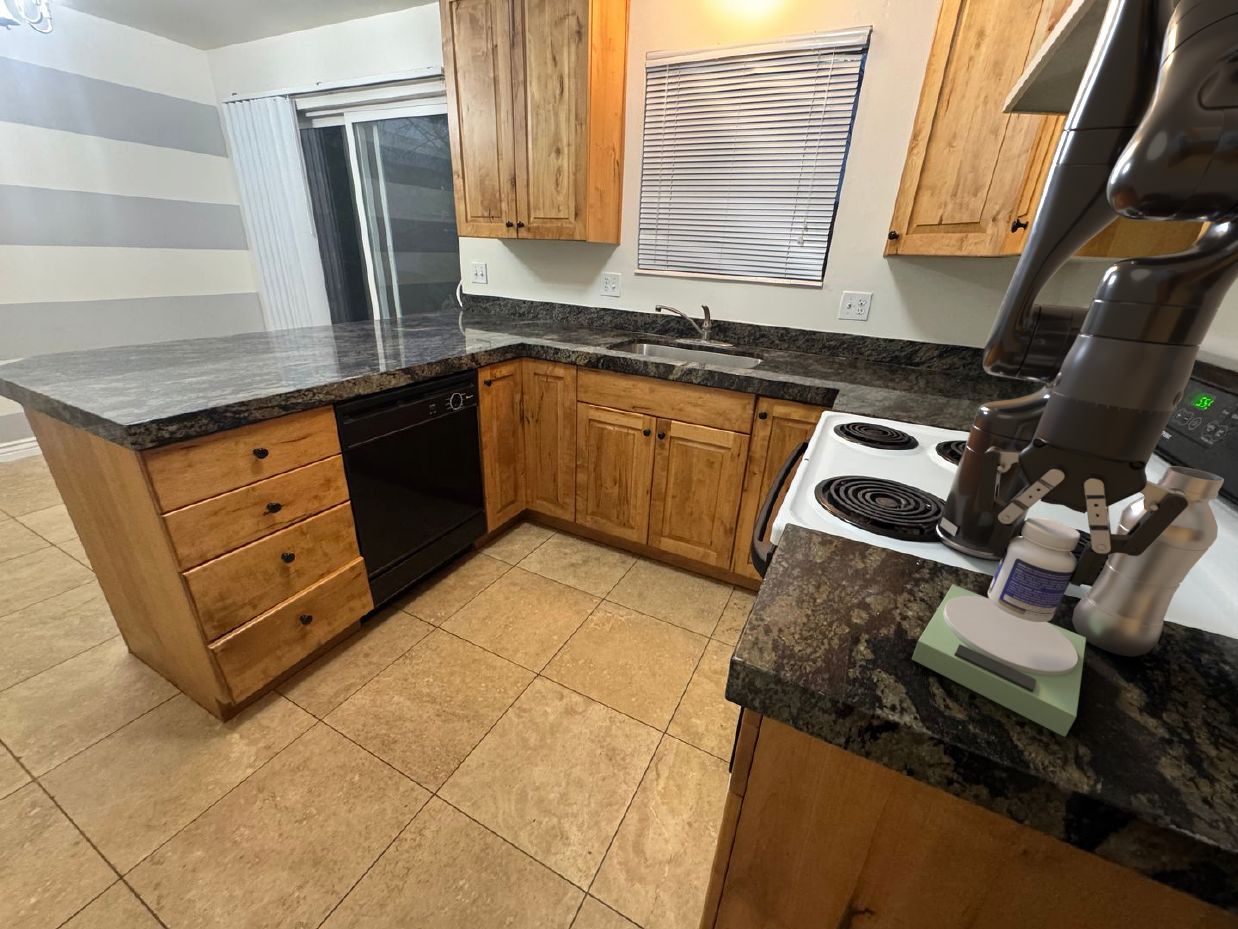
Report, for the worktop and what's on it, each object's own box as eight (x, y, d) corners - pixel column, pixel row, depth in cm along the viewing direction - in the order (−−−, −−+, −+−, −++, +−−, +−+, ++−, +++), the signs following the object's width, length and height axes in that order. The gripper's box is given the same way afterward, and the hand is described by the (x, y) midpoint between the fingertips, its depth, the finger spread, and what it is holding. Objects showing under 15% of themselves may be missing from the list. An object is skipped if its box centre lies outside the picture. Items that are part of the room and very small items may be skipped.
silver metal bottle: (1164, 671, 50) (1274, 492, 43) (1088, 658, 51) (1182, 482, 44) (1118, 629, 56) (1207, 465, 48) (1051, 618, 57) (1128, 457, 50)
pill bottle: (1066, 625, 47) (1107, 544, 43) (1011, 622, 46) (1047, 540, 43) (1024, 591, 51) (1058, 515, 48) (974, 588, 51) (1004, 512, 48)
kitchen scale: (946, 600, 59) (954, 579, 58) (1076, 655, 52) (1088, 632, 50) (911, 659, 50) (920, 635, 48) (1065, 737, 42) (1079, 711, 41)
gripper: (1234, 408, 39) (1137, 587, 45) (1013, 373, 48) (957, 527, 54) (1250, 424, 34) (1138, 624, 40) (999, 382, 43) (940, 550, 49)
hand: (1034, 567), depth 47 cm, fingers closed on pill bottle, 5 cm apart
